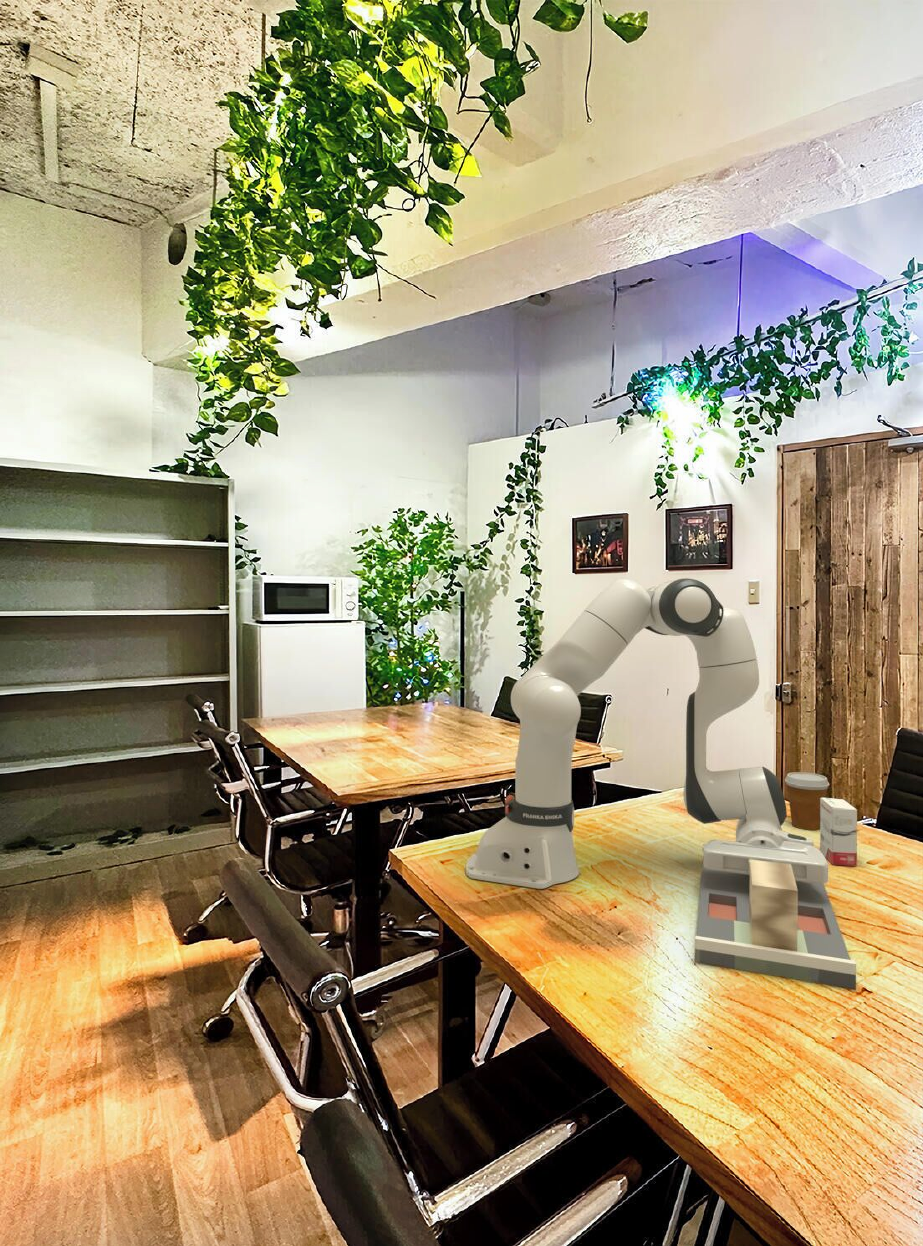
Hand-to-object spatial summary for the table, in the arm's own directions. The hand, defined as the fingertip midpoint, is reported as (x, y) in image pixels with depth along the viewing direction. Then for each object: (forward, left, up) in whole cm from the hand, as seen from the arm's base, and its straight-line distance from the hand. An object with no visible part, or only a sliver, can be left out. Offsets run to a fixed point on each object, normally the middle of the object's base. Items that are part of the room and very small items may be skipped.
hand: (765, 877), depth 117 cm
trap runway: (0, -1, -7) cm, 7 cm away
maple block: (-2, -12, -5) cm, 13 cm away
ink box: (+22, +33, -7) cm, 40 cm away
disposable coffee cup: (+22, +55, -7) cm, 59 cm away
